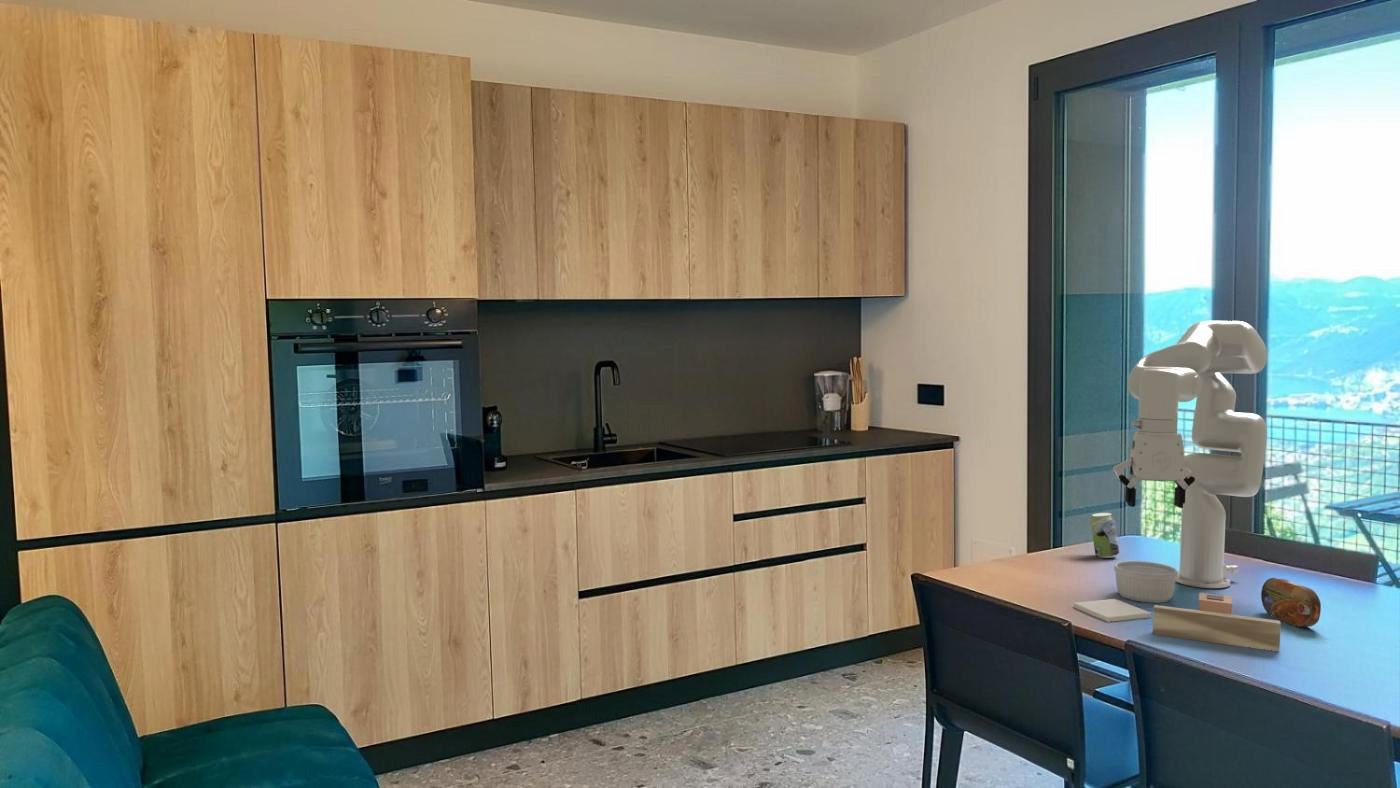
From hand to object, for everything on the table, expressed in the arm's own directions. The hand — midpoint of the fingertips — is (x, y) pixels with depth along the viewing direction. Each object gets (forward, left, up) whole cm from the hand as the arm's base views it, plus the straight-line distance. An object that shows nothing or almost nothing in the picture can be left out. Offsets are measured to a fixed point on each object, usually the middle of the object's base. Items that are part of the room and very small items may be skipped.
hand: (1154, 506), depth 203 cm
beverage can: (-27, -47, -24) cm, 59 cm away
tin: (-26, +11, -24) cm, 37 cm away
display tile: (+6, -5, -24) cm, 25 cm away
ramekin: (-10, -13, -24) cm, 29 cm away
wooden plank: (0, +17, -24) cm, 30 cm away
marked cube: (-8, +9, -24) cm, 27 cm away
